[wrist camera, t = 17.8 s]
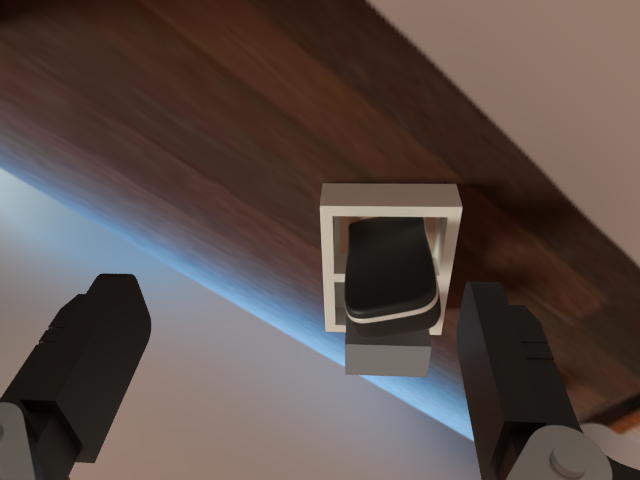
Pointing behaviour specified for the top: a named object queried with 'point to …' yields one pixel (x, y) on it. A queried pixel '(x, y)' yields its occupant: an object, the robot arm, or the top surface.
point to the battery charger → (390, 277)
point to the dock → (336, 215)
